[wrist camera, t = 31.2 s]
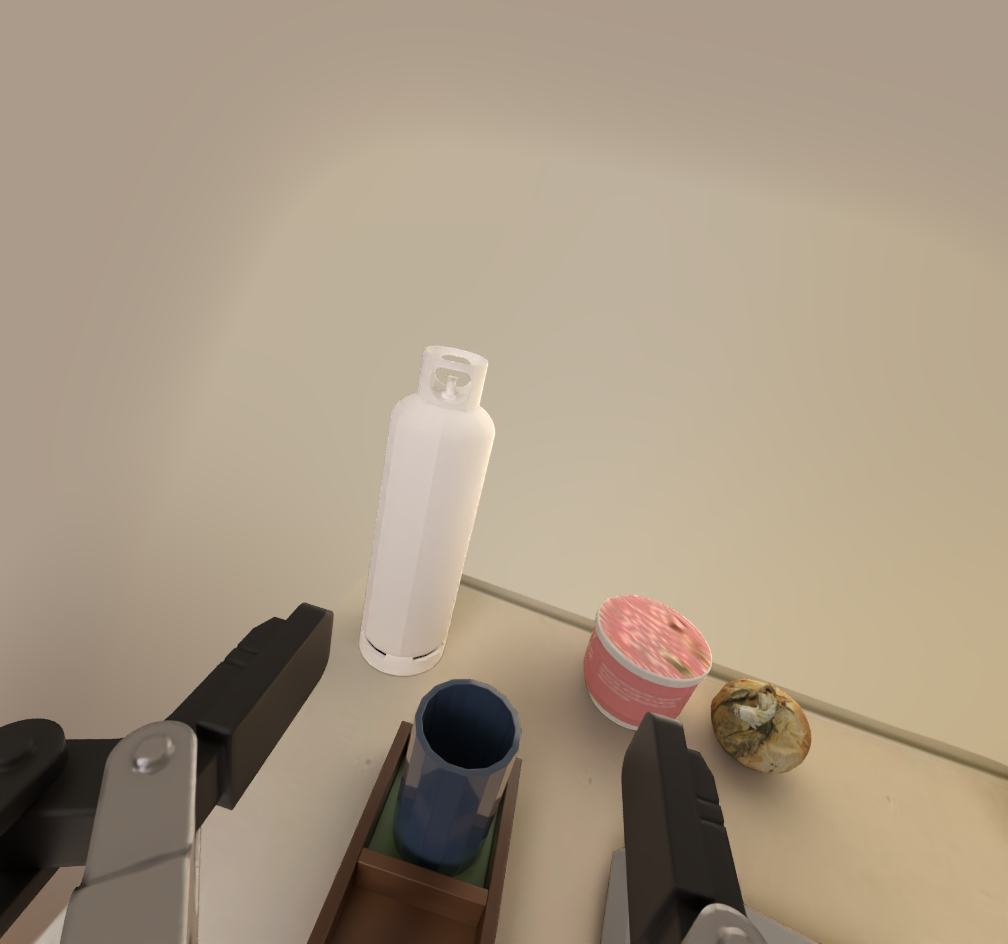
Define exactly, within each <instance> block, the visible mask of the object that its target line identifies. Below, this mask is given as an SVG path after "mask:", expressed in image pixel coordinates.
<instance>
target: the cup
mask: <svg viewBox="0 0 1008 944" xmlns="http://www.w3.org/2000/svg"><path fill="white" fill-rule="evenodd" d="M521 733H522V730H521V726H520V722H519V718H518V714H517V711H516V710H515V709H514V707H513V706H512V704H511V703H510V702H509V700H508V699H507V697H505V696H504V695H503V694H502V693H500V692H499V691H497V690H496V689H495V688H493V687H492V686H490V685H488V684H485V683H482V682H479V681H475V680H471V679H453V680H450V681H447V682H445V683H442V684H439V685H437V686H435V687H434V688H433V689H432V690H431V691H430V692H428V693H427V694H426V695H425V696H424V697H423V698H422V700H421V702H420V705H419V707H418V710H417V712H416V714H415V719H414V723H413V728H412V732H411V737H410V741H409V746H408V750H407V755H406V760H405V764H404V769H403V773H402V778H401V782H400V787H399V791H398V796H397V800H396V805H395V809H394V818H393V828H392V829H393V838H394V843H395V846H396V849H397V851H398V853H399V855H400V857H401V858H402V860H403V861H406V862H409V863H411V864H414V865H417V866H420V867H423V868H426V869H429V870H432V871H435V872H438V873H440V874H443V875H446V876H449V877H454V876H457V875H459V874H461V873H463V872H464V871H465V870H467V869H468V868H469V867H470V866H471V865H472V864H473V863H474V862H475V860H476V859H477V857H478V856H479V854H480V852H481V849H482V847H483V846H484V844H485V841H486V838H487V836H488V833H489V830H490V827H491V825H492V822H493V819H494V816H495V814H496V811H497V808H498V805H499V803H500V800H501V797H502V794H503V791H504V789H505V786H506V783H507V780H508V778H509V775H510V772H511V769H512V767H513V764H514V761H515V758H516V756H517V753H518V750H519V745H520V739H521Z"/></svg>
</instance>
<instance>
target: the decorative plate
mask: <svg viewBox="0 0 1008 944" xmlns="http://www.w3.org/2000/svg"><path fill="white" fill-rule="evenodd" d="M743 904H744V903H743ZM744 908H745V911H746V914H747V917H748V919H749V920H750V921H751V922H752V923H753V925H754V926H755V927H756V928H757V929H758V930H759V932H760V933H761V935H762V936H763V937H764V939H765V941H766V942H767V944H821V943H819V942H817V941H815V940H813V939H811V938H809V937H807V936H805V935H803V934H801V933H799V932H797V931H796V930H794V929H792V928H790V927H788V926H786V925H784V924H782V923H780V922H778V921H776V920H774V919H772V918H771V917H769V916H767V915H765V914H763V913H761V912H759V911H757V910H755V909H753V908H751V907H749V906H747V905H746V904H744ZM601 944H630V932H629V913H628V894H627V875H626V856H625V847H624V848H621V849H619V850H616V851H614V852H613V855H612V863H611V870H610V878H609V885H608V893H607V900H606V908H605V915H604V923H603V930H602V938H601Z"/></svg>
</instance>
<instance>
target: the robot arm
mask: <svg viewBox="0 0 1008 944" xmlns="http://www.w3.org/2000/svg"><path fill="white" fill-rule="evenodd" d="M333 616H334V615H333V612H332V611H330V610H326V609H323V608H320V607H317V606H314V605H310V604H308V603H302V604H301V605H300V606H298V607H297V609H296V610H295V611H294V612H293V613H292V614H291V615H290V616H289V618H288V619H287V620H283V619H280V618H277V617H273V618H272V619H270V620H268V621H266V622H265V623H262V624H261V625H259V626H257V627H255V628H253V629H252V630H251V631H250V633H249V634H248V635H247V636H246V637H245V638H244V639H243V640H242V641H241V642H240V643H239V644H238V646H237V648H235V649H233V650H232V651H231V652H230V653H229V654H228V656H227V657H226V658H225V660H224V661H223V662H221V663H220V664H219V665H218V666H217V667H216V668H215V669H214V670H213V671H212V672H211V673H210V674H209V675H208V677H206V679H205V680H204V681H203V682H202V683H201V684H200V685H199V686H198V687H197V688H196V689H195V690H194V691H193V692H192V693H191V694H190V695H189V696H188V698H186V699H185V701H184V702H183V703H182V704H181V705H180V706H179V707H178V708H177V709H176V710H175V711H174V712H173V713H172V714H171V715H170V716H169V717H168V718H166V719H165V720H164V721H159V722H154V723H151V724H148V725H145V726H143V727H141V728H138V729H137V730H135V731H133V732H131V733H130V734H129V735H127V736H126V737H125V738H120V739H78V740H77V739H73V740H72V739H70V740H69V739H68V740H65V736H64V732H63V729H62V728H61V726H60V725H59V724H57V723H56V722H54V721H51V720H48V719H26V720H22V721H17V722H14V723H11V724H8V725H5V726H3V727H0V938H1V937H2V936H3V935H4V934H5V932H6V931H7V930H8V929H9V927H10V926H11V925H12V924H13V923H14V922H15V920H16V919H17V918H18V917H19V916H20V914H21V913H22V912H23V911H24V910H25V908H26V907H27V906H28V905H29V904H30V902H31V901H32V900H33V899H34V898H35V896H36V895H37V894H38V893H39V891H40V890H41V889H42V888H43V887H44V886H45V884H46V883H47V882H48V881H49V880H50V878H51V877H52V876H53V875H54V874H55V872H56V871H57V870H58V869H59V867H69V866H84V865H86V867H85V871H84V876H83V879H82V882H81V884H80V886H79V887H76V888H75V889H74V891H73V893H72V895H71V898H70V901H69V904H68V908H67V912H66V916H65V921H64V926H63V930H62V935H61V940H60V944H198V918H199V885H200V852H201V825H202V824H203V822H204V821H205V820H206V818H207V817H208V815H209V814H210V813H211V811H212V810H213V808H214V807H215V805H218V806H221V807H224V808H227V809H230V810H233V808H234V807H235V805H236V804H237V802H238V801H239V799H240V798H241V796H242V795H243V793H244V792H245V790H246V789H247V787H248V786H249V784H250V783H251V781H252V780H253V779H254V777H255V776H256V774H257V773H258V771H259V770H260V768H261V767H262V765H263V764H264V762H265V761H266V759H267V758H268V756H269V755H270V753H271V752H272V750H273V749H274V747H275V746H276V744H277V743H278V741H279V740H280V738H281V737H282V735H283V734H284V732H285V731H286V729H287V728H288V727H289V725H290V724H291V722H292V721H293V719H294V718H295V716H296V715H297V713H298V712H299V710H300V709H301V707H302V706H303V704H304V703H305V701H306V700H307V698H308V697H309V695H310V694H311V692H312V691H313V689H314V688H315V686H316V685H317V683H318V682H319V680H320V679H321V677H322V675H323V673H324V671H325V668H326V666H327V663H328V659H329V654H330V645H331V636H332V626H333ZM622 799H623V818H624V837H625V856H626V875H627V894H628V913H629V932H630V944H767V942H766V941H765V939H764V937H763V936H762V935H761V933H760V932H759V930H758V929H757V928H756V927H755V926H754V925H753V923H752V922H751V921H750V920H749V919H748V917H747V914H746V911H745V908H744V904H743V899H742V895H741V891H740V887H739V882H738V878H737V874H736V870H735V866H734V861H733V857H732V853H731V849H730V844H729V840H728V836H727V832H726V827H724V819H723V815H722V810H721V806H719V798H718V793H717V789H716V785H715V781H714V776H713V775H712V773H711V771H710V769H709V768H708V766H707V764H706V762H705V761H704V759H703V757H702V756H701V754H700V752H697V751H694V750H691V749H688V748H687V745H686V740H685V735H684V729H683V726H682V723H681V722H680V721H678V720H675V719H672V718H669V717H665V716H662V715H659V714H656V713H653V712H647V713H646V714H645V715H644V717H643V719H642V721H641V723H640V725H639V727H638V729H637V731H636V733H635V735H634V737H633V739H632V741H631V743H630V745H629V747H628V749H627V751H626V754H625V757H624V761H623V766H622Z"/></svg>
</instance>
